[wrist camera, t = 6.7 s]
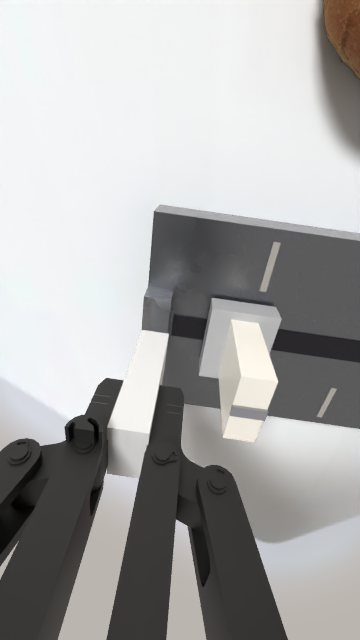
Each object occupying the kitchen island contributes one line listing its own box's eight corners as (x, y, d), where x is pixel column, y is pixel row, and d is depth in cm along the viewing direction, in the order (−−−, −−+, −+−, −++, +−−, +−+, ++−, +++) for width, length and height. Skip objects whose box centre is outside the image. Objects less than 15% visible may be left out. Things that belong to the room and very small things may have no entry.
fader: (198, 361, 20) (197, 443, 14) (211, 297, 18) (215, 365, 12) (255, 369, 20) (276, 454, 14) (276, 307, 18) (311, 378, 12)
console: (145, 376, 25) (136, 411, 21) (160, 204, 18) (149, 216, 14) (465, 422, 25) (508, 465, 21) (604, 268, 18) (700, 295, 14)
